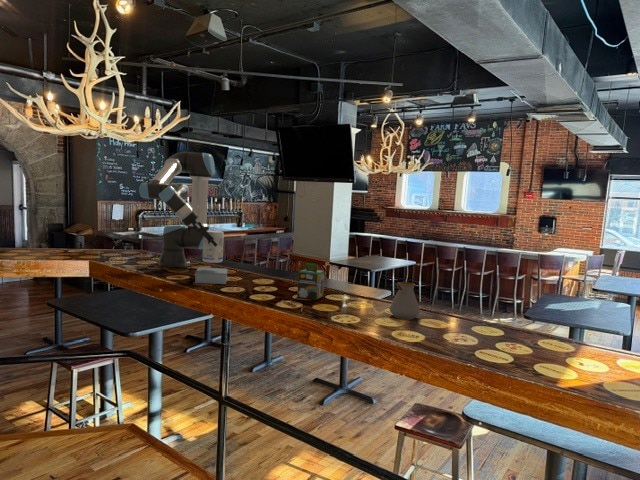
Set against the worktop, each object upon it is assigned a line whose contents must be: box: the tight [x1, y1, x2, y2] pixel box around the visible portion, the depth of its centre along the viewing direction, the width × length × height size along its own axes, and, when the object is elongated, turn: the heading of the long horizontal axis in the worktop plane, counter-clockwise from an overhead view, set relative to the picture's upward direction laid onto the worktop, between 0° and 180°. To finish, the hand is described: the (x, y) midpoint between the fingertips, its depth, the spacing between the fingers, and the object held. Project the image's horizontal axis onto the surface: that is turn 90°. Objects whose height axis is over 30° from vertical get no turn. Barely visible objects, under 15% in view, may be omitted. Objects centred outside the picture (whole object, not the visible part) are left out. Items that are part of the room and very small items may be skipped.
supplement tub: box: [202, 230, 225, 264], centre depth 211 cm, size 10×10×15 cm
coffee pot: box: [388, 281, 421, 321], centre depth 161 cm, size 21×12×15 cm, turn 153°
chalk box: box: [296, 262, 325, 301], centre depth 190 cm, size 9×9×15 cm
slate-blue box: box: [194, 267, 228, 285], centre depth 212 cm, size 15×14×5 cm
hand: (219, 249), depth 212 cm, fingers closed on supplement tub, 9 cm apart
